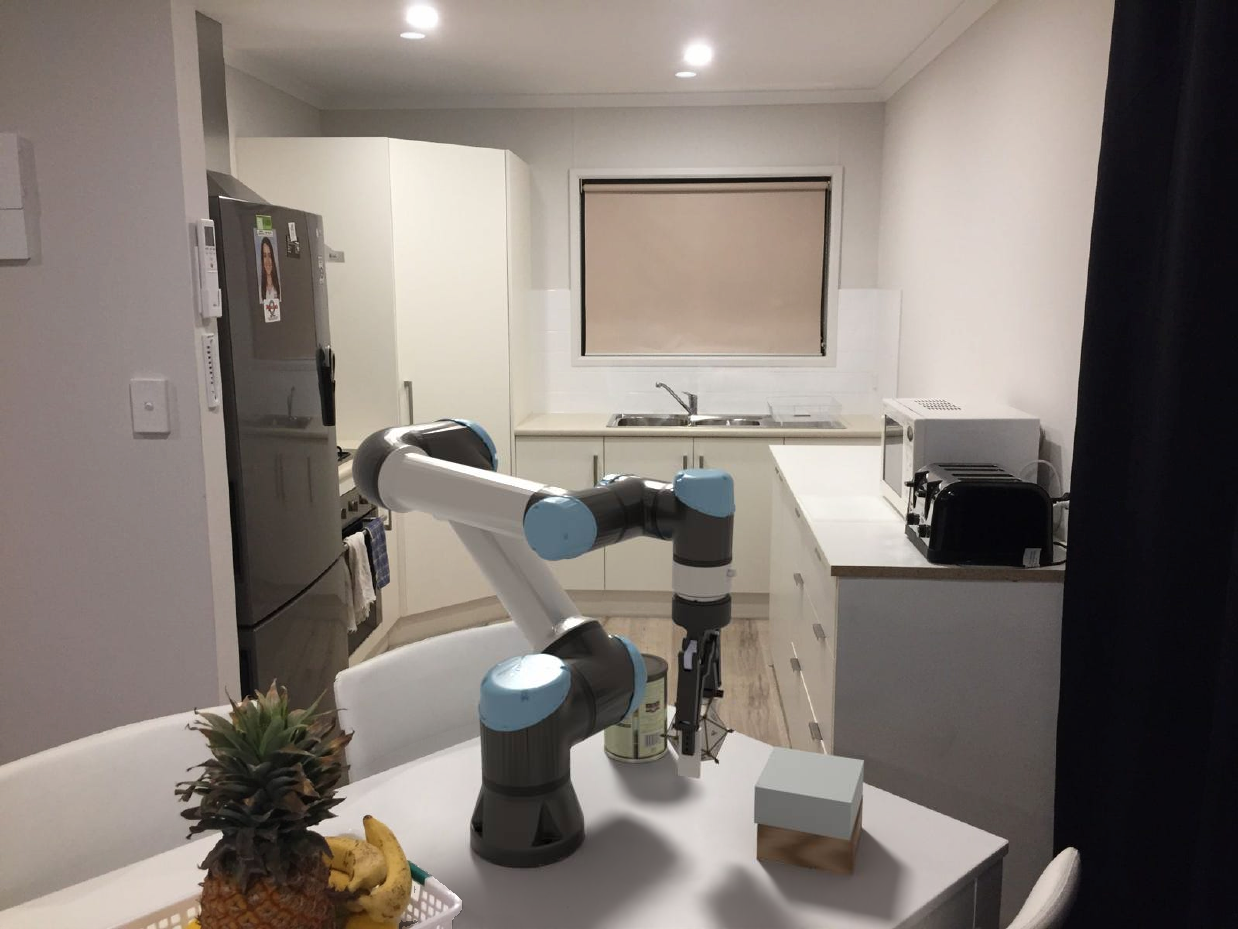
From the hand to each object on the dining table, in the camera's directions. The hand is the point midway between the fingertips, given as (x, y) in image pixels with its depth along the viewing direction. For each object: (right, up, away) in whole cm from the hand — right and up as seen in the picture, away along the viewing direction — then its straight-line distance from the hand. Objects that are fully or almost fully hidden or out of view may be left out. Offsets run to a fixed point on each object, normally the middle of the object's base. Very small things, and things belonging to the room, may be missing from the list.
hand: (697, 759), depth 130 cm
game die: (0, 0, 0) cm, 1 cm away
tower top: (+15, -7, +1) cm, 16 cm away
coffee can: (-8, -7, +28) cm, 30 cm away
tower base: (+15, -12, +1) cm, 19 cm away
